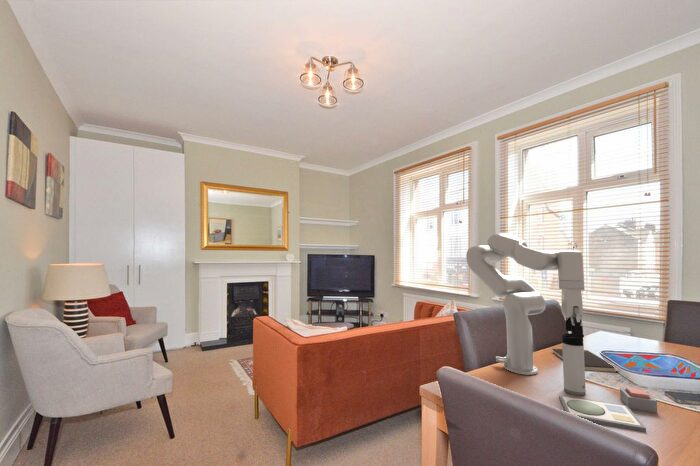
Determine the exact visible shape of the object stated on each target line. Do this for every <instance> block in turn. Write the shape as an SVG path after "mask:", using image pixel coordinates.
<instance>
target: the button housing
mask: <svg viewBox="0 0 700 466" xmlns="http://www.w3.org/2000/svg"><path fill="white" fill-rule="evenodd" d="M645 392H646V393H647V394H648V395H649V399H646V398H639V397H632V396H630V395H629V394H628V393H627V392H626V388H621V387H620V388H619V395H620V396H619V400H621V401H622V403H623V405H627V406H628V407H629V409H630V410H636V411H644V412H650V413H658V401H657V400H656V399H655V398H654V396H652V395H651V394H650V393H649V392H648V391H645Z"/></svg>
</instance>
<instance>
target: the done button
mask: <svg viewBox="0 0 700 466" xmlns="http://www.w3.org/2000/svg"><path fill="white" fill-rule="evenodd" d="M625 389H626V392H627V393H628V394H629V395H630V396H632V397H639V398H646V399H649V395H648V394H647V393H646V392H647V391H645V390H644V389H643V388H634V387H627V386H626V387H625Z"/></svg>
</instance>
